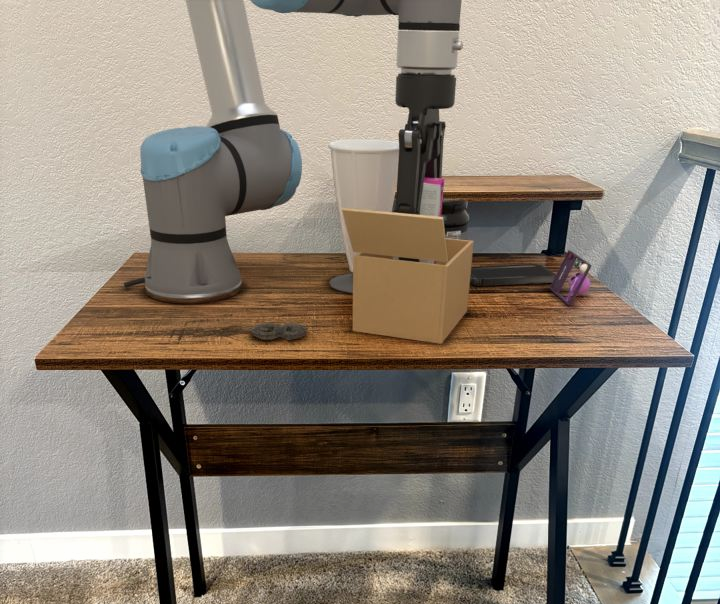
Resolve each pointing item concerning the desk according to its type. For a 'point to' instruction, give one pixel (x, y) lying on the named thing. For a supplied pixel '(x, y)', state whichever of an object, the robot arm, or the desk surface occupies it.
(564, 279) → the purple monster toy box
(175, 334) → the desk surface
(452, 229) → the supplement container
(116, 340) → the desk surface
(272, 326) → the corroded twin loop
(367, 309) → the carton
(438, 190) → the supplement box
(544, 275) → the phone
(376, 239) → the flap
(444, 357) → the desk surface
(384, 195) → the cup
